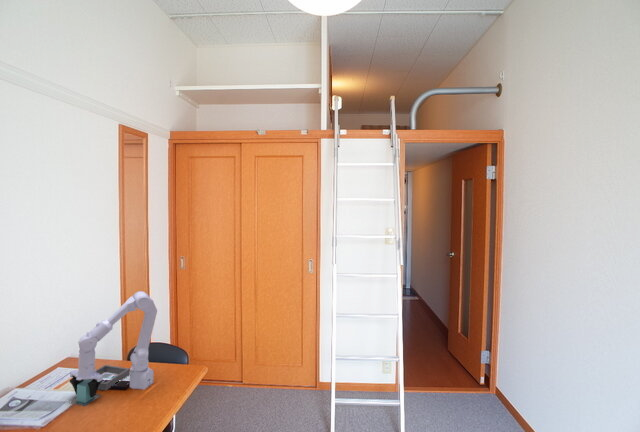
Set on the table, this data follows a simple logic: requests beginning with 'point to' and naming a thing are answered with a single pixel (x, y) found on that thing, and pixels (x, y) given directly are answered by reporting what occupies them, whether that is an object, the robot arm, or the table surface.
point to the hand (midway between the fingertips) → (85, 394)
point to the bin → (112, 369)
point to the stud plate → (86, 402)
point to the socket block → (83, 391)
